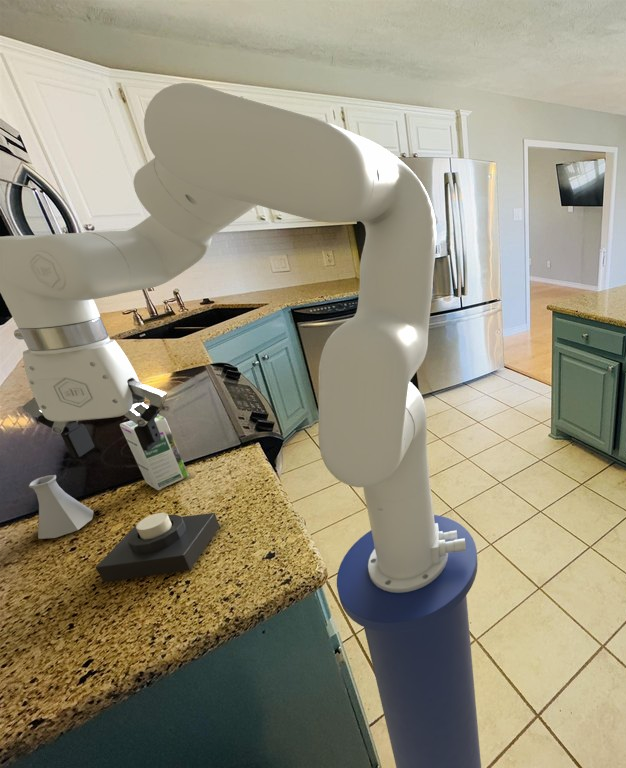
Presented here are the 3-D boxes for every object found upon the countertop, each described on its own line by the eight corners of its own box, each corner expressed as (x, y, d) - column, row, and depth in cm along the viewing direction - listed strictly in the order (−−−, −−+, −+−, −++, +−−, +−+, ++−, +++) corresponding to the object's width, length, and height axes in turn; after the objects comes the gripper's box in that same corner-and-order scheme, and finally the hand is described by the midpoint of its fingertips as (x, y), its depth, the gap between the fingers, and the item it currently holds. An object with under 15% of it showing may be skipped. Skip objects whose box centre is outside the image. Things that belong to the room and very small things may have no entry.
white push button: (177, 520, 68) (173, 511, 67) (163, 538, 65) (158, 527, 64) (150, 524, 68) (146, 514, 67) (134, 541, 64) (129, 531, 63)
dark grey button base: (220, 526, 73) (211, 504, 71) (190, 570, 64) (179, 546, 62) (145, 536, 71) (134, 513, 69) (103, 583, 62) (89, 558, 60)
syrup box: (157, 491, 83) (130, 429, 78) (145, 483, 86) (118, 422, 80) (189, 477, 88) (166, 417, 82) (176, 469, 90) (152, 411, 85)
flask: (28, 545, 70) (-1, 497, 66) (53, 518, 76) (28, 473, 72) (82, 533, 72) (57, 487, 69) (102, 508, 79) (80, 464, 75)
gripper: (-43, 348, 49) (27, 471, 55) (122, 338, 51) (170, 456, 58) (15, 332, 55) (71, 443, 62) (159, 324, 58) (197, 431, 65)
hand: (118, 449), depth 60 cm, fingers open, 8 cm apart
